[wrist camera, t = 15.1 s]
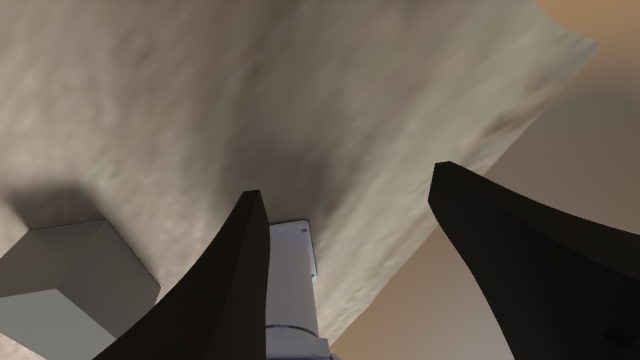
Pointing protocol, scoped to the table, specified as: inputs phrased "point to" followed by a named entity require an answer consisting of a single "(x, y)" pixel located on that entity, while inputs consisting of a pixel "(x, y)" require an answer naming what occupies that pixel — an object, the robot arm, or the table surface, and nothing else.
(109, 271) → the grey rectangular box
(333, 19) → the table surface
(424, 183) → the table surface
